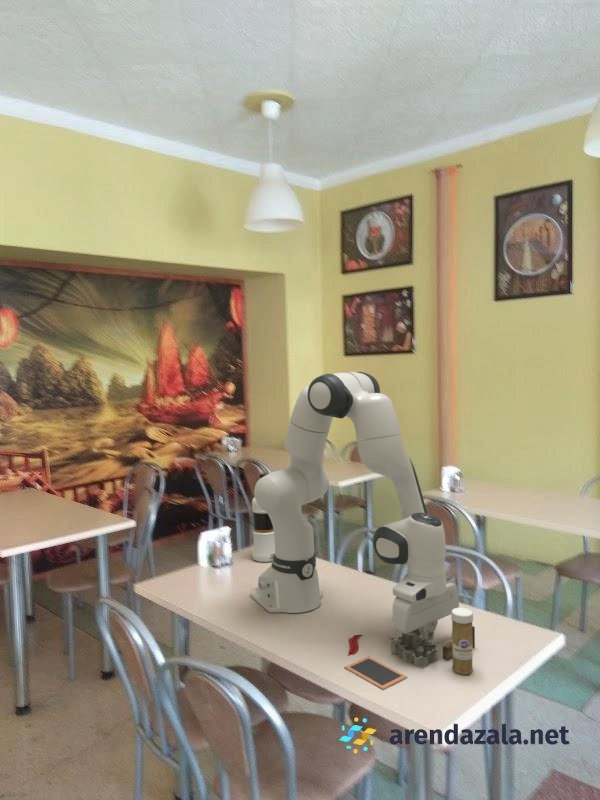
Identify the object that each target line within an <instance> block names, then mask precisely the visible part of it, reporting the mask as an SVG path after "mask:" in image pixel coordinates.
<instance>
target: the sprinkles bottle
mask: <svg viewBox="0 0 600 800" xmlns="http://www.w3.org/2000/svg"><path fill="white" fill-rule="evenodd" d="M450 615H451V617H450V618H451V622H452V624H451V626H452V628H451V629H452V631H451V642H452V655H453V659H452V665H451V670H452V671H453V672H454V673H456V674H459V675H462V676H463V675H465V676H466V675H470V674H472V672H473V671H474V669H473V656H474V655H473V654H474V653H473V652H474V651H473V649H474V648H473V634H472V626H473V621H474V613H473V611H472V610H470V608H466V607H459V608H455V609H453V610H452V614H450Z"/></svg>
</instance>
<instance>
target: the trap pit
mask: <svg viewBox="0 0 600 800" xmlns="http://www.w3.org/2000/svg"><path fill="white" fill-rule="evenodd" d="M344 669H345V670H347V671H349V672H350V673H352V674H354V675H356V676H358V677H359V678H361V679H363V680H365V681H366V682H367V683H370V684H372V685H373V686H375V687H377V688H379V689H380V690H382V691H384V690H386V689H388V688H390V687H392V686H394V685H396V684H399V683H400V682H402V681H405V680H406V679H407V678H408V675H405V674H403V673H401V672H400V671H398V670H396V669H394V668H392V667H390V666H388V665H387V664H385V663H382V662H381V661H378V660H377V659H376V658H373V657H372V656H369V655H368V656H366V657H364V658H361V659H358V660H357V661H354V662H352V663H349V664H347V665H346V666H344Z"/></svg>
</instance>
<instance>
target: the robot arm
mask: <svg viewBox="0 0 600 800" xmlns="http://www.w3.org/2000/svg"><path fill="white" fill-rule="evenodd" d="M380 388H381V387H380V384H379V381H378V380H377V379H376V378H375V377H374V376H373V375H371V374H369V373H366V372H362V371H340V372H335V373H325V374H322V375H319V376H317V377H316V378H314V379H313V380H312V381H311V382H310V384H309V385H306V386H305V387H303V388H302V389H301V391H300V393H299V394H298V396H297V400H296V402H295V404H294V407H293V408H292V412H291V416H290V419H289V422H288V423H289V424H288V427H287V431H286V435H285V439H284V443H283V444H284V450H285V451H286V452H287V453H288V454H289V455H290V461H289V465H288V467H286V468H284V469H279V470H275V471H272V472H270V473H267V475H266V476H264V477H262V478H261V479H260V478H259V479H258V480H257V481H256V483H255V484H254V485H255V486H254V493H253V494H254V497H255V499H256V502H257V504H258V505H259V506H260V508H261V509H263V510H264V511H266V512H267V514H268V515H269V517H270V519H271V522H272V525H273V529H274V540H275V554H272V555H274V556H272V555H270V556H272V557H270V559H271V558H273V561H272V562H271V565H270V566H269V567H268V568H267V569H266V570H264V571H263V572H262V573H260V575H259V576H258V579H257V587H256V588H253V589H252V590H251V591H250V593H249V596H250V597H251V598H252V599H253V600H254V601H256V602H257V603H258V604H259V605H260V606H261V607H262V608H264V609H265V611H267V612H268V613H286V614H287V613H288V614H297V613H299V614H300V613H305V612H310V611H313V610H315V609H317V608H319V607H320V606H321V604H322V600H321V599H322V597H323V593H322V591H321V589H320V583H319V575H318V574H319V573H318V569H317V568H316V567H317V558H316V553H315V549H314V548H315V547H314V546H315V544H314V543H315V541H314V538H315V537H314V528H313V525H312V524H311V523H310V522H309V521H307V520H306V519H305V518H304V515H303V511H302V506H303V505H305V504H309V503H312V502H316V500H319V498H321V497H322V496H324V495H325V494H326V493H327V491H328V489H329V486H330V478H329V476H328V473H327V472H326V470H325V468H324V464H323V460H324V451H325V448H326V444H327V440H328V437H329V433H330V429H331V424H332V422H333V419H334V418H336V419H337V418H338V419H344V418H345V417H347V418H348V419H350V420H351V421H352V423H353V426H354V431H355V438H356V439H355V440H356V445H357V446H356V447H357V451H358V455H359V458H360V461H361V462H362V464H363V465H364V466H365V468H366V469H368V470H370V471H371V472H373V473H374V474H377V475H380V476H383V477H386V478H387V479H389V480H390V481H391V482H392V483H393V485H394V488H395V490H396V491H395V492H396V494H397V499H398V501H399V505H400V508H401V513H402V514H401V515H402V516H401V519H399V520H396V521H392V522H388V523H385V524H383V525H381V526H379V527H377V528H376V530H375V531H374V533H373V536H372V546H373V551H374V553H375V554H376V556H377V557H378V558H379V559H380V560H381V561H382V562H383V563H385V564H391V565H406V566H407V574H405V576H404V577H402V579H401V580H400V581H399V582H397V583H396V584H395V585H394V586H393V588H392V594H393V596H394V597H395V598H394V599H393V601H392V602H393V603H392V614H391V615H392V626H393V628H394V629H395V631H397V632H399V633H401V634H402V633H404V634H407V633H410V632H412V631H414V630H416V629H418V630H419V632H420V633H421V636H420V637H421V638H424V639H428V640H429V641H432V640H433V639H435V632H436V629H437V627H438V621H439V620H441V619H444V618H446V617H447V616H450V615H452V610H453V609H455V608H460V602H459V600H460V598H459V592H458V587H457V584H456V578H455V576H453V575H452V574H449V573H448V574H447V569H446V565H445V558H446V554H447V549H446V546H447V545H446V543H447V542H446V534H445V528H444V524H443V522H442V520H441V519H440V518H439V517H437V516H436V515H434V514H432V513H428V511H427V510H428V509H427V507H426V504H425V500H424V496H423V493H422V489H421V486H420V482H419V479H418V476H417V472H416V469H415V466H414V464H413V462H412V460H411V458H410V457H409V456H408V454H407V452H406V449H405V446H404V443H403V439H402V434H401V429H400V424H399V420H398V416H397V413H396V410H395V407H394V404H393V402H392V400H391V398H390V397H389V396H387V394H384V393H381V389H380ZM426 629H427V630H426Z"/></svg>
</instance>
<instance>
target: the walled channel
mask: <svg viewBox="0 0 600 800" xmlns="http://www.w3.org/2000/svg"><path fill="white" fill-rule="evenodd" d="M475 628H476V627H475V626H474V625H472V634H473V649H474V648H475V647H476V645H475V644H476V642H475V641H476V639H475V638H476V635H475V633H476V631H475V630H476V629H475ZM426 630H427V629H426ZM410 633H415V634H417V635H418V636H419V637H421V633H420V632H419V630H418V629H416V630H414V631H412V632H410ZM403 634H404V633H401V636H403ZM404 635H406V634H404ZM442 659H443V660H445V661H447V662H448V661H451V660H453V655H452V641H450V642H448V643H445V644H444V645H442Z"/></svg>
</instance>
